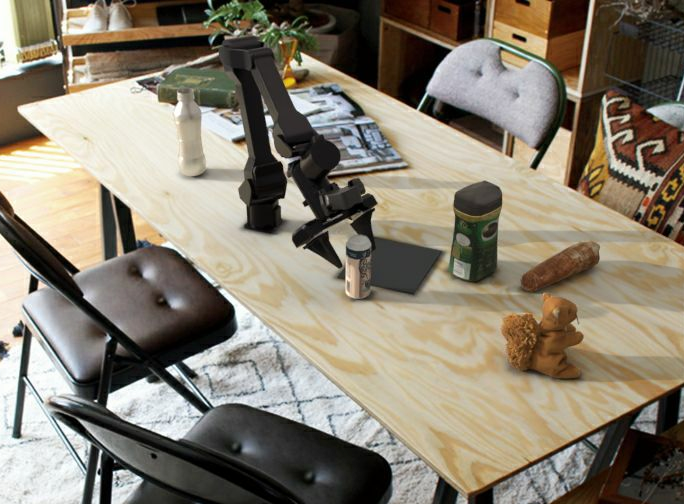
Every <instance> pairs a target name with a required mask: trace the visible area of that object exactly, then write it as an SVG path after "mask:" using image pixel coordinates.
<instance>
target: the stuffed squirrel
mask: <svg viewBox="0 0 684 504" xmlns="http://www.w3.org/2000/svg"><path fill="white" fill-rule="evenodd" d="M542 302H543V305H542V309H541V310H542V311H541V314H542V317H541V320H540V321H539V323H538V321H537V320H536V318H535V317H534V315H533V313H531V312H528V311H527V312H525V313H523V314H522V313H521V314H517V313H514V312H510V313H508V314H507V315H506V316H504V317H500V319H501V321H502V323H501V324H500V333H501V335H502V336H503V337H504V339H505V341H506V343H505V346H506V348H505V353H506V354H507V355H506V356H507V360H508V362H509V363H510V365H511V367H513V368H514V369H516V370H517V371H518V372H525V371H527V370H528V369H530V370H535V371H537V372H538V373H540V374H542V375H546V376H548V377H551V378H554V379H577V378H579V377H580V376H581V374H582V373H581V372H582V371H581V369H580V368H579V367H578V366H576V365H575V364H572V363H569V362H568V358H569V349H568V348H571V347H575V346H578V345H579V344H581V343H582V342H583V340H584V337H585V336H584V334H583V333H582V332H581V331H579V330H577V327H576V326H575V325H574V324H572V323H573V322H574V321H575V320H576V321H577V325H580V324H581V323H580V321H579V316H578V306H577V304H576V303H575V302H573V301H572V300H570V299H567V298H565V297H562V296H555V295H552V296H551V294H550V293H549V292H543V294H542Z"/></svg>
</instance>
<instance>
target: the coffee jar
mask: <svg viewBox="0 0 684 504" xmlns="http://www.w3.org/2000/svg"><path fill="white" fill-rule="evenodd" d="M502 209H503V192H502V189H501V187H500V186H499V185H497V184H495V183H493V182H490V181H488V180H481V181H477V182H474V183H471V184H469V185H467V186H465V187H462V188H461V189H459V190H457V191H456V192H454V196H453V203H452V211H453V214H454V226H453V234H452V243H451V248H450V255H449V263H448V270H449V272H450V274H452V275H453V276H454V277H456V278H457V279H459V280H462V281H468V282H476V281H479V280H482V279H484V278H486V277H488V276H489V275H491V274H493V273H494V272H495V271H496V270H497V268H498V238H499V237H498V235H499V221H500V215H501V211H502Z"/></svg>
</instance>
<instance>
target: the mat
mask: <svg viewBox="0 0 684 504" xmlns="http://www.w3.org/2000/svg"><path fill="white" fill-rule="evenodd" d="M374 241H375V246H376V249H375V250H374V251H371V280H370V286H372V287H378V288H382V289H386V290H391V291H395V292H400V293H404V294H409V295H414V294H415V293H416V291H417V290H418V288H419V287H420V285H421V284H422V282H423V281H424V279H425V278H426V276H428V273H429V272H430V270H431V269H432V268H433V266H434V265H435V263H436V261H437V259H438V258H439V257H440V255H441V254H442V252H443V251H442V250H441V249H436V248H431V247H426V246H421V245H416V244H412V243H407V242H401V241H397V240H392V239H387V238H382V237H377V236H374ZM336 278H337V279H341V280H345V281H346V265H345V266H344V267H343V269H342V270H341V271H340V273H339V274H338V275H337V276H336Z"/></svg>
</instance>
